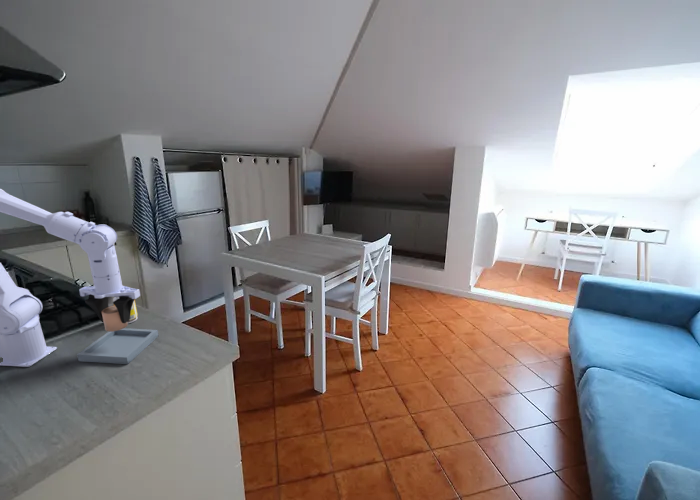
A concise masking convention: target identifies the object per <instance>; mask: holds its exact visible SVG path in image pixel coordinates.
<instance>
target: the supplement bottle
mask: <svg viewBox="0 0 700 500" xmlns="http://www.w3.org/2000/svg"><path fill="white" fill-rule="evenodd" d="M117 299H119V297H114V298H113V302H114V301H116V300H117ZM114 306H115V305H114ZM138 318H139V314H138V309H137V305H136V299H135V300H134V302H133V304H132V308H131V313H130V320H129V321H127V322H128V325H129V324H131V323H134V322H136V321H137V320H138Z"/></svg>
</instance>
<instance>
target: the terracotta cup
mask: <svg viewBox="0 0 700 500" xmlns="http://www.w3.org/2000/svg"><path fill="white" fill-rule="evenodd" d="M102 317H103V322H102V323H103V325H104V330H105V331H106V332H109V331H110V332H112V331H118V330H121V329H123V328H127V327H128V325H129V324H128V322H126V323H122V322H121V319H120V315H119V312H118V310H117V308H116V306H111V307H108V308H105V309H104V310H102Z"/></svg>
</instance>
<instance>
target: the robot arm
mask: <svg viewBox="0 0 700 500" xmlns="http://www.w3.org/2000/svg"><path fill="white" fill-rule="evenodd" d="M0 213H3V214H5V215H9V216H12V217H15V218H18V219H21V220H24V221H28V222H30V223H33V224H36V225H40V226H43V227H44V229H45V231H46V232H47V234H49V235H52V236H54V237H58V238H60V239H63V240H66V241H68V242H71V243H74V244H76V245H78V246H79V247H80V248H81V250H83V251H84V252H85V253H86V254H87V258H88V263H89V267H90V273H91V277H92V282H93V285H92V286H83V287H81V288H79V295H80V297H86V296H88V298H87V299H85V304H86V305H87V306H89V307H90V308H91V309H92V311H94V312H95V314H96V315H97V317H98V318H99V320H100V322H101V323H104V322H103V317H102V310H104V309H105V308H108V297H119V299H117V300H116V301H114V302H113V304H114V305H115V306H116V308H117V310H118V312H119V315H120V319H121V322H122V323H126V322H127V321H129V320H130V313H131V308H132V304H133V302H134V300H135V301H136V300H137V299H138V298H139V297H141V291H140V288H139V289H138V288H133V287H130V286H126V285H123V282H122V277H121V271H120V266H119V259H118V255H117V251H116V246H115V243H116V242H117V240H118V234H117V232H116V231H115V229H114V228H112V227H111V226H109V225H107V224H104V223H103V224H96V222H93V221H90V222H89V221H86V220H85V219H81V218H79V217H76V216H75V215H74V213H72V212H70V211H65V212H64V211H57V212H53V213H52V212H50V211H48V210H45V209H44V208H41V207H39V206H37V205H34V204H32V203H30V202H27V201H25V200H23V199H20V198H18V197H16V196H14V195H11V194H10V193H8V192H6V191H5V190H4V189H2V188H0ZM42 311H43V302H42V301H41V300H40V298H38V297H36V296H34V295H33V294H32V293H31V292H30V290H29V289H28V288H23V287H19V286H17V284H16V283H15V282H14V280H13V279H12V277H11V276H10V275H9V273H8V272H7V270H6V269H5V267H4V265H3V264H2V262H0V357H2V358H3V362H1V363H0V366H7V367H23V368H29V367H31V366H33V365H35V364H36V363H37V362H39V361H40V360H42V359H44V358H45V357H47V356H48V355H49V354H51V353H53V352H54V351H56V350H57V349H58V347H57V346H47V343H46V340H45V336H44V333H43V330H42V325H41V323H40V314H41V313H42Z"/></svg>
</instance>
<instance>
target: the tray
mask: <svg viewBox="0 0 700 500" xmlns="http://www.w3.org/2000/svg"><path fill="white" fill-rule="evenodd" d="M158 337H159V329H148V328H147V329H145V328H130V327H128V328H127V327H125V328H123V329H121V330H118V331H112V332H110V331H106V333H105V334H104V335H101V336H100V337H99V338H97V339H96V340H95V341H93V342H92V343H91V344H90V345H88V346H86V347H85V348H84V349H83V350H81V351H80V352H78V353H77V354H76V356H77V361H78V362H84V363H87V362H88V363H101V364H102V363H103V364H104V363H105V364H118V365H119V364H120V365H121V364H123V365H129V364H130V363H131V362H133V360H135V358H137V356H139V355H140V354H141V353H142V352H143V351H144V350H145V349H147V347H148V346H149V345H151V344H152V343H153V342H154V341H155V340H156V339H157V338H158Z"/></svg>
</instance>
